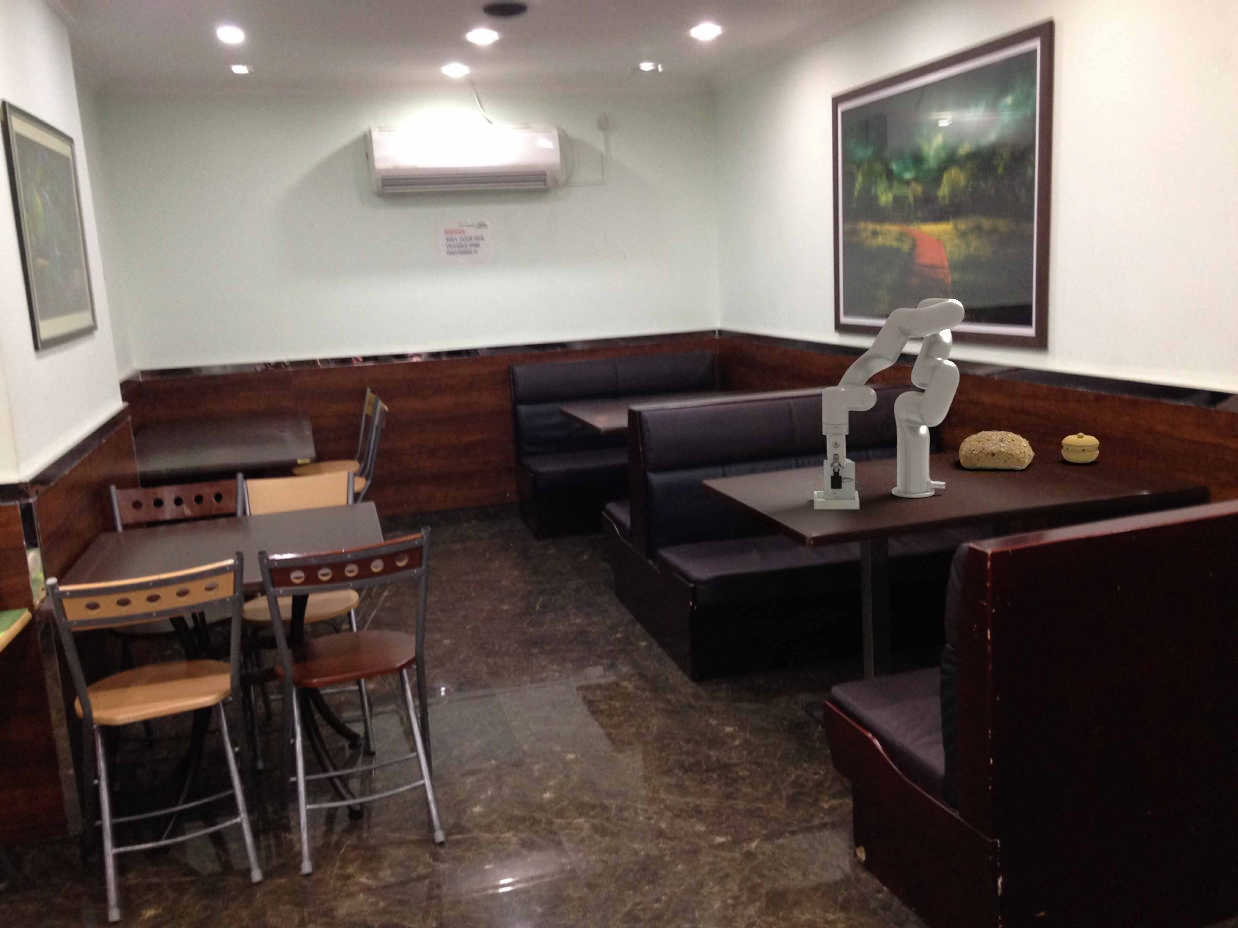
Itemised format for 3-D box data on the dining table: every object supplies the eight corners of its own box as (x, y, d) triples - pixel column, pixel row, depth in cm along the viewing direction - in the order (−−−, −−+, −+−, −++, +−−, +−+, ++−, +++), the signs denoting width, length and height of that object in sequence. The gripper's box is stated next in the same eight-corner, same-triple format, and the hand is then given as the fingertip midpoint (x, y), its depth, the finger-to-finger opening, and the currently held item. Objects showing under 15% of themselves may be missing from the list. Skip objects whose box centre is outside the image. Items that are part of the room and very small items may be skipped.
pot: (1053, 461, 357) (1054, 432, 355) (1081, 457, 360) (1082, 429, 358) (1077, 466, 346) (1078, 437, 344) (1106, 463, 349) (1107, 434, 347)
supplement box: (831, 505, 307) (831, 463, 305) (823, 500, 314) (823, 459, 312) (855, 503, 308) (855, 461, 306) (846, 498, 315) (846, 457, 313)
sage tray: (857, 498, 316) (857, 490, 316) (859, 509, 304) (859, 500, 303) (814, 499, 319) (814, 491, 318) (814, 509, 306) (814, 501, 306)
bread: (956, 470, 350) (957, 435, 347) (960, 458, 369) (961, 425, 367) (1034, 473, 341) (1035, 437, 338) (1034, 460, 360) (1035, 426, 358)
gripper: (849, 433, 298) (849, 491, 301) (847, 423, 314) (847, 478, 318) (822, 434, 299) (823, 491, 303) (822, 424, 316) (822, 479, 319)
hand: (835, 485), depth 310 cm, fingers open, 9 cm apart
